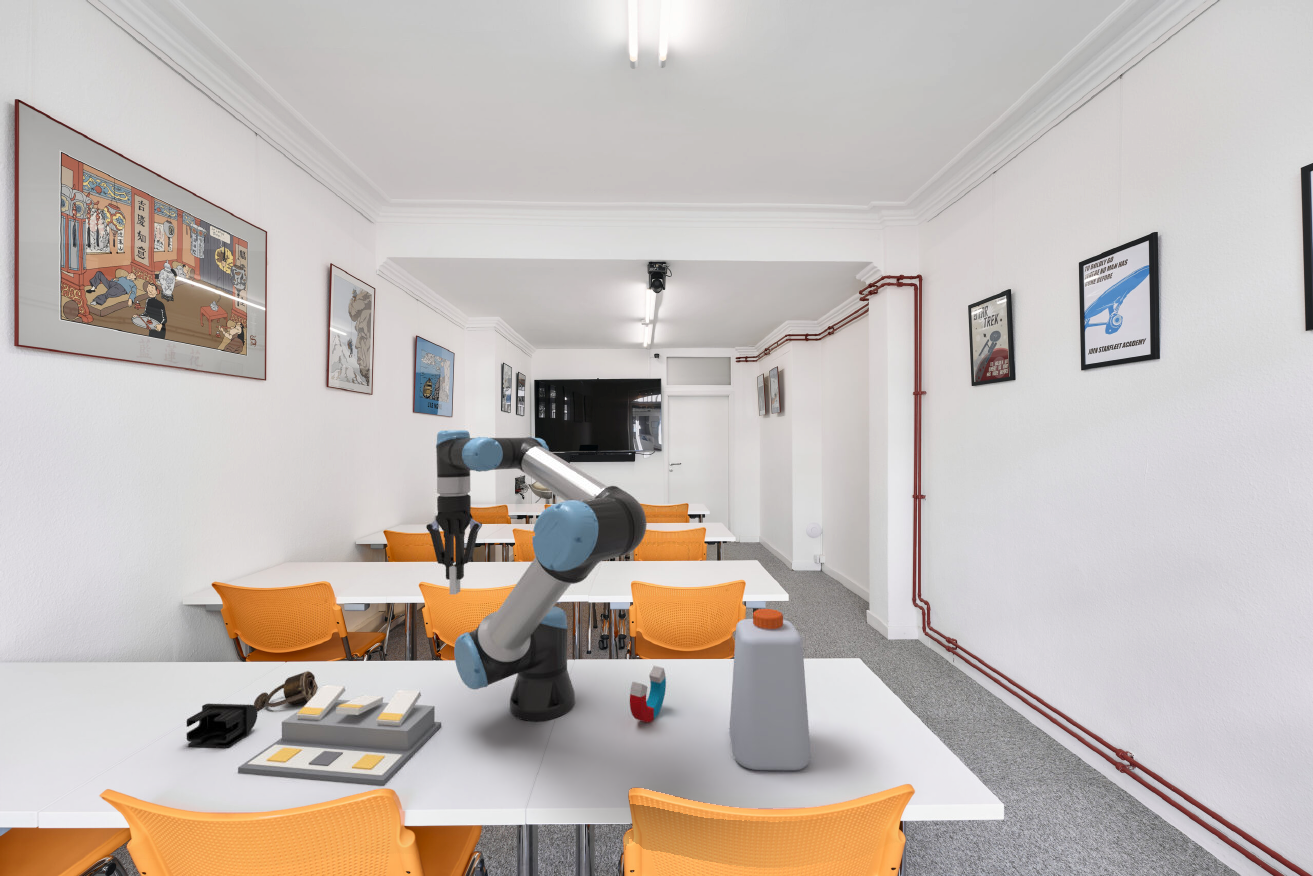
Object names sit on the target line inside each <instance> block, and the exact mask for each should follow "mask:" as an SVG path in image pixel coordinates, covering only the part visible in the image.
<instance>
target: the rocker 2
mask: <svg viewBox="0 0 1313 876" xmlns="http://www.w3.org/2000/svg"><path fill="white" fill-rule="evenodd" d="M421 697H422V693H421V691H420V690H407V689H406V690H405V689H398V690H397V692H396V693H395V694H394V696H393V697H392V698H391V700H390V701H389V702H388V703H389V704H388V705H387V706H386V708H385V709H384V710H383V712H382V713H381V714H380V716H379V717H378V718H377V720H376V721H377V725H390V726H401V724H402V723H403V721H404V720H405V718H406V717H407V715H408V714H409V713H410V711H411V710H412V708H413V707H414V705H417V702H418V701H419V699H420V698H421Z"/></svg>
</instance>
